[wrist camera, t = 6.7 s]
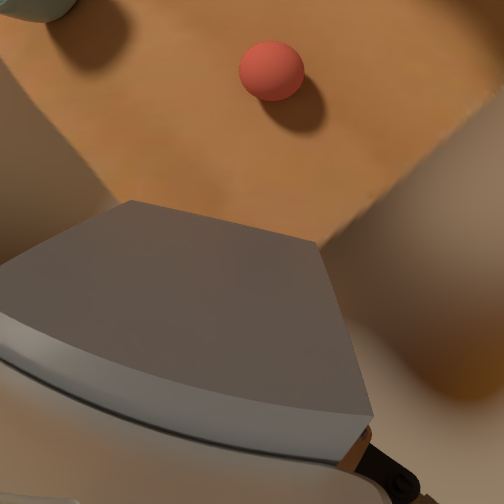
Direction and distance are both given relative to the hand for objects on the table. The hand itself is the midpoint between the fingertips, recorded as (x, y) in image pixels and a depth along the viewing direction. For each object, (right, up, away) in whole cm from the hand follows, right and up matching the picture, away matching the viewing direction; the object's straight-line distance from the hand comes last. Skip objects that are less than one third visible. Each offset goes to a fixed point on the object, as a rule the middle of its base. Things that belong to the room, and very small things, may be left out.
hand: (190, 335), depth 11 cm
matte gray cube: (0, +1, +2) cm, 2 cm away
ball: (+4, +17, +10) cm, 20 cm away
